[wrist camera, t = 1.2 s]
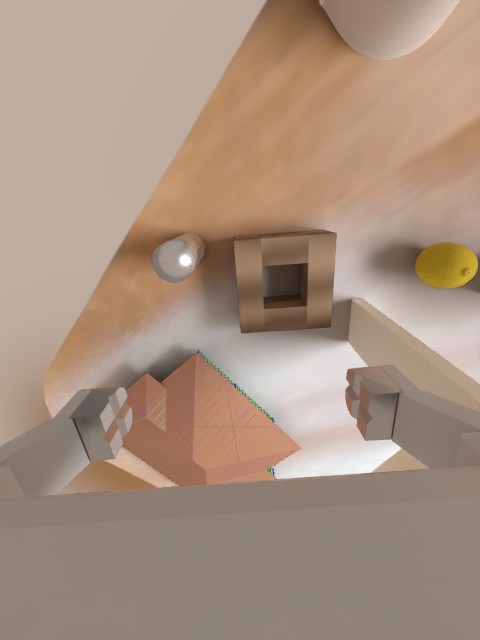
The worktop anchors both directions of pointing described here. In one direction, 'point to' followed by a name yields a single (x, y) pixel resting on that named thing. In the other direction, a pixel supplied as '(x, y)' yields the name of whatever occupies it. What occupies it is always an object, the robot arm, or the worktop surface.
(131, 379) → the worktop surface
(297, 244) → the socket block
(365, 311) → the cream panel with ledge
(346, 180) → the worktop surface
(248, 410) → the house
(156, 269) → the peg
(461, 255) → the lemon
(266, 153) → the worktop surface
